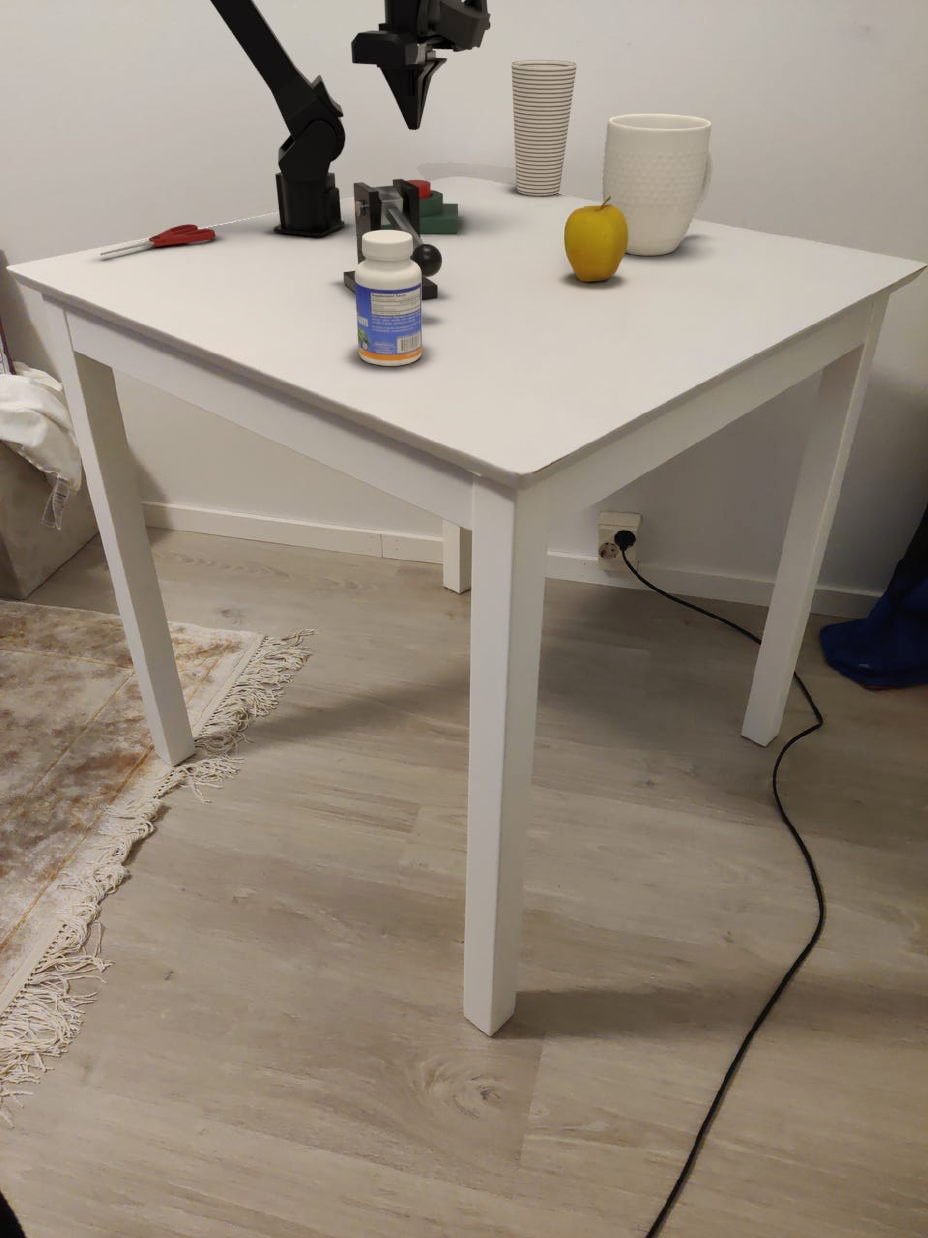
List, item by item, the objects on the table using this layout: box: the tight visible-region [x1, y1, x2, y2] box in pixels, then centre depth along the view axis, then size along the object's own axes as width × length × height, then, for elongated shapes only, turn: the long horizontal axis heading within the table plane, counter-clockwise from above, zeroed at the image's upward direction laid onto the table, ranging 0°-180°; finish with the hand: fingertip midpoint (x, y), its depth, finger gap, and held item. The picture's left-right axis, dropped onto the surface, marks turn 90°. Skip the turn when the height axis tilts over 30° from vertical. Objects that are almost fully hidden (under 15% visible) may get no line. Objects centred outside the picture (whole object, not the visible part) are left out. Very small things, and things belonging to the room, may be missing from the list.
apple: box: [563, 196, 628, 282], centre depth 96 cm, size 6×6×8 cm
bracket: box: [342, 178, 439, 300], centre depth 92 cm, size 8×7×10 cm
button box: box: [380, 189, 459, 235], centre depth 116 cm, size 10×8×4 cm
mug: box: [602, 113, 713, 257], centre depth 106 cm, size 15×11×13 cm
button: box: [406, 179, 432, 199], centre depth 115 cm, size 4×4×2 cm
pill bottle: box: [354, 230, 423, 367], centre depth 78 cm, size 5×5×10 cm
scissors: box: [99, 223, 216, 256], centre depth 108 cm, size 5×14×1 cm, turn 140°
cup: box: [511, 59, 578, 197], centre depth 128 cm, size 8×8×16 cm
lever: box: [371, 185, 443, 278], centre depth 88 cm, size 13×3×3 cm, turn 25°
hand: (414, 129), depth 110 cm, fingers closed
